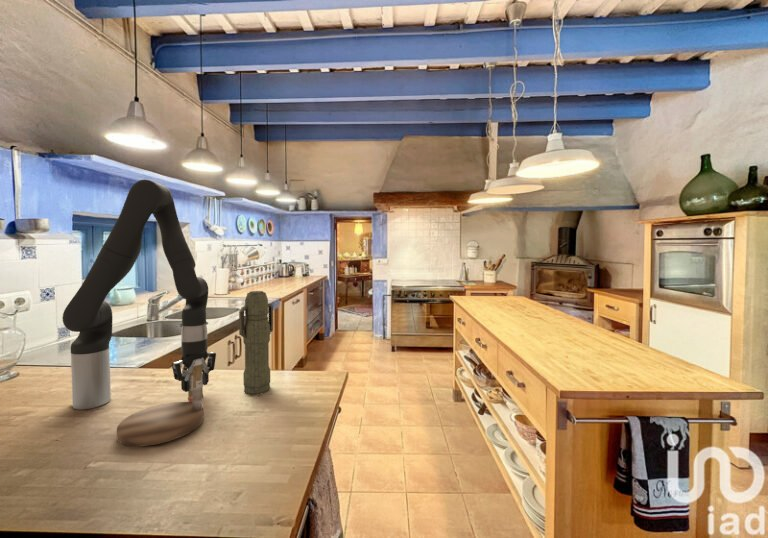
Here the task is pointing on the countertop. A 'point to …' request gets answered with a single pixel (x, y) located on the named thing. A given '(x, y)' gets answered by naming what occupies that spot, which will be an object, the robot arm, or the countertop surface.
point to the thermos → (256, 341)
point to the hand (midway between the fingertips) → (195, 387)
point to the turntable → (162, 422)
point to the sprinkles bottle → (196, 377)
